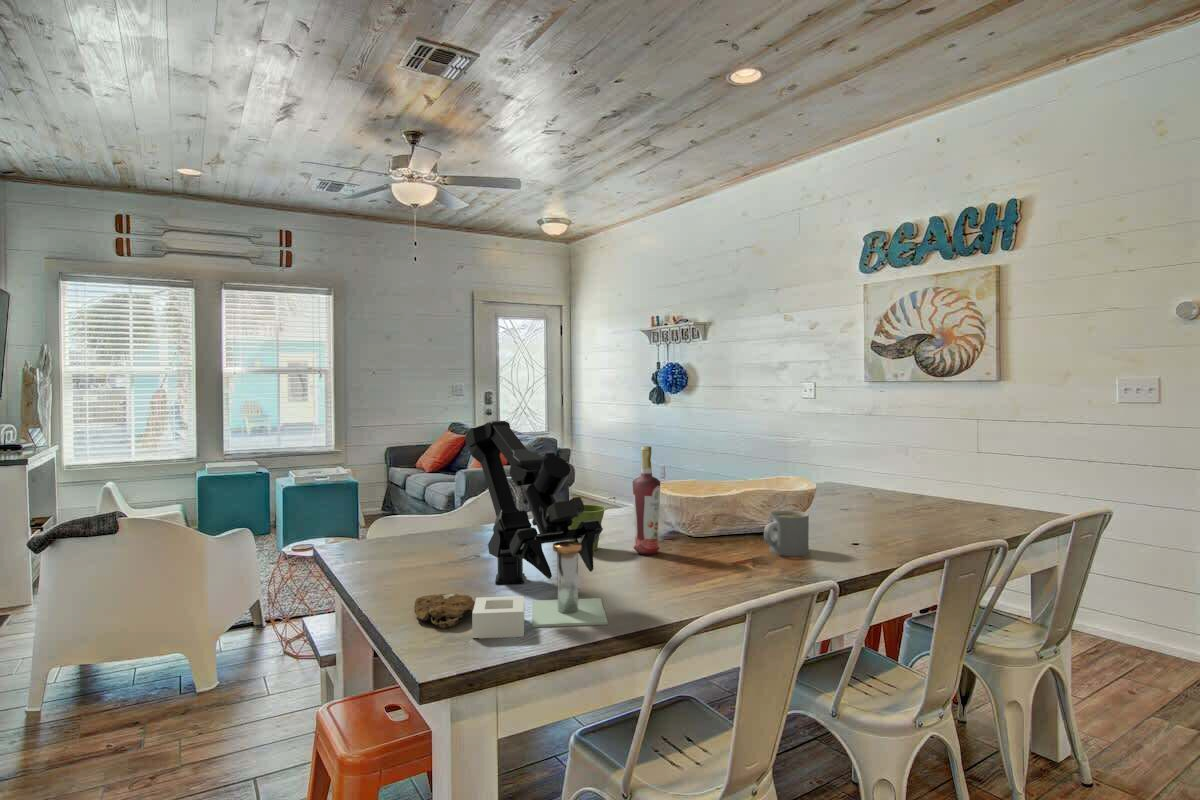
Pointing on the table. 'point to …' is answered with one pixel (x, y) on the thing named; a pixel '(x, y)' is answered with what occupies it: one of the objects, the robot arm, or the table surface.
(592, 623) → the sage mat
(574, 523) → the plant pot
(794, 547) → the coffee mug
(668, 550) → the table surface
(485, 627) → the collar
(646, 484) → the liquor
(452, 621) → the decorative rock
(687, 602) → the table surface
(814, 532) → the table surface
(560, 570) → the glass jar with lid
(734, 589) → the table surface
